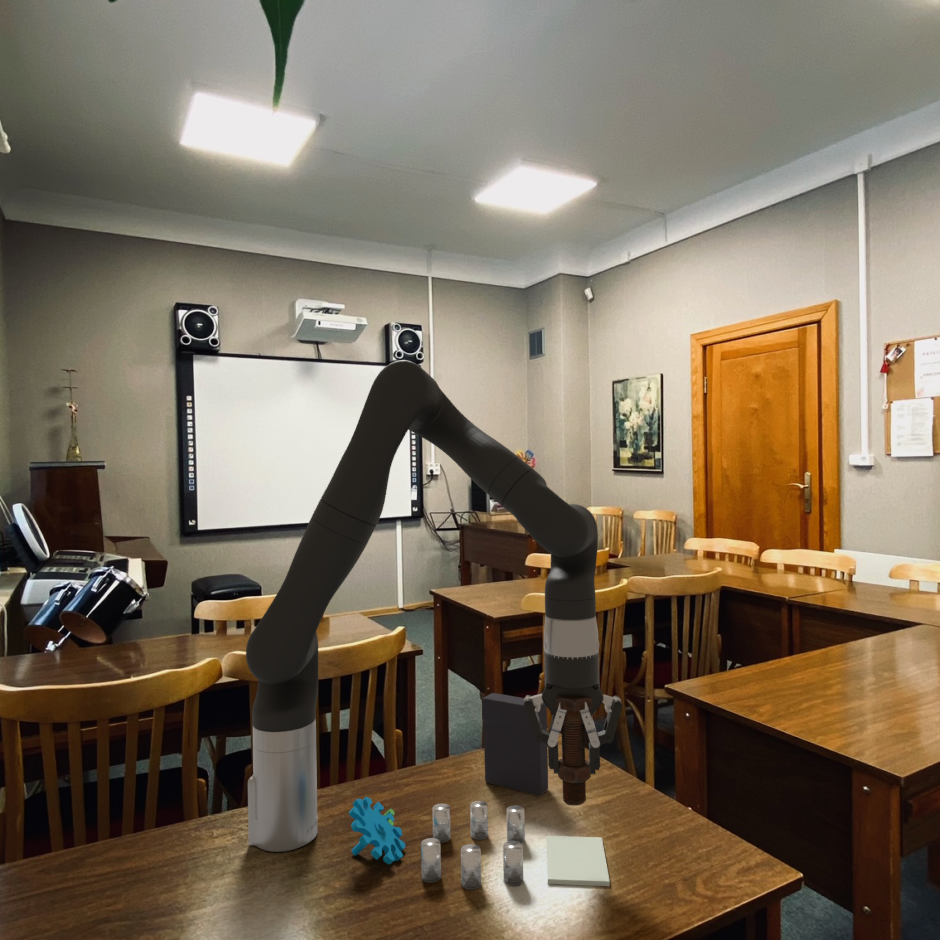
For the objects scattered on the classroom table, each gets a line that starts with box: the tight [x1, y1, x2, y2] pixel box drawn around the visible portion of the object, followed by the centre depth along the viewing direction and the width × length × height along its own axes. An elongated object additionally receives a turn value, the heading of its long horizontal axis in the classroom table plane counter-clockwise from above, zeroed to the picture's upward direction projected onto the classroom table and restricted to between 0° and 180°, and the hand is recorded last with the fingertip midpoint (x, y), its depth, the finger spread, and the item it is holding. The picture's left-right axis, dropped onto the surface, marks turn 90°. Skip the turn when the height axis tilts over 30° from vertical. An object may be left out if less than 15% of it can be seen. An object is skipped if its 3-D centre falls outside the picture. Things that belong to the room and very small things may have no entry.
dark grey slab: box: [481, 692, 549, 797], centre depth 119 cm, size 11×4×15 cm, turn 58°
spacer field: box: [420, 800, 526, 891], centre depth 96 cm, size 14×15×4 cm
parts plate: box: [546, 835, 611, 887], centre depth 95 cm, size 8×11×1 cm
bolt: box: [555, 696, 592, 807], centre depth 95 cm, size 6×5×15 cm
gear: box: [348, 796, 406, 865], centre depth 98 cm, size 11×6×10 cm
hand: (573, 771), depth 95 cm, fingers closed on bolt, 4 cm apart
